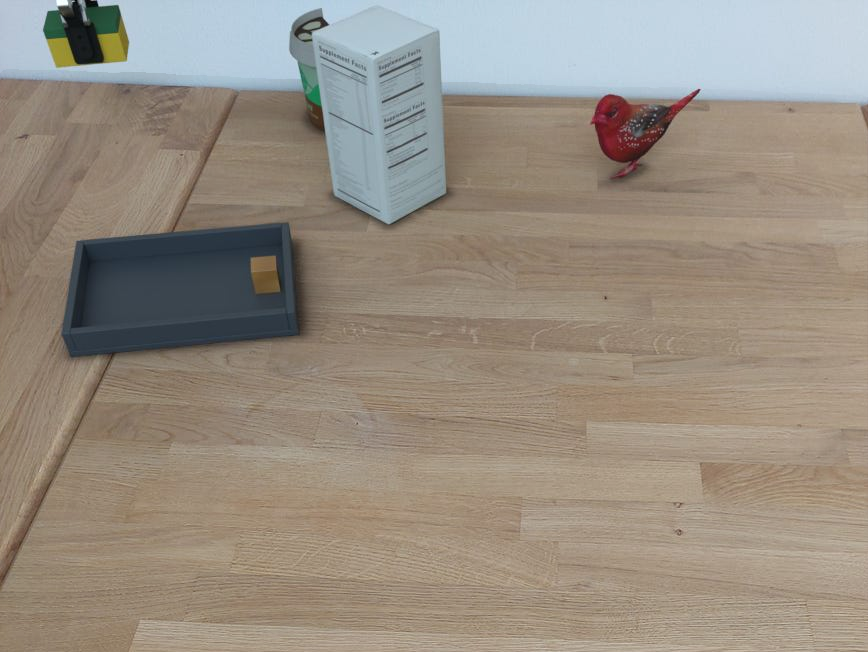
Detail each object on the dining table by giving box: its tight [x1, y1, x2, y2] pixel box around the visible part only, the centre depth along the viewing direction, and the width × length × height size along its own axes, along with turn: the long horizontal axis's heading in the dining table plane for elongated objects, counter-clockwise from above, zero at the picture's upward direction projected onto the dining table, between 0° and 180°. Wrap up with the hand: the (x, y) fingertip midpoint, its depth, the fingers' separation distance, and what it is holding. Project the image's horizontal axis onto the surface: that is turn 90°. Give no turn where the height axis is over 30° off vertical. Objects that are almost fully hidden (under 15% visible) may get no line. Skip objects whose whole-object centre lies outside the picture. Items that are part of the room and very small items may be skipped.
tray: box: [60, 221, 300, 358], centre depth 96 cm, size 22×16×3 cm
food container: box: [288, 7, 330, 133], centre depth 114 cm, size 12×6×10 cm, turn 27°
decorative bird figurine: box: [589, 88, 701, 180], centre depth 107 cm, size 3×18×10 cm, turn 130°
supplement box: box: [312, 4, 447, 225], centre depth 101 cm, size 10×9×17 cm
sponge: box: [42, 4, 130, 69], centre depth 110 cm, size 8×5×4 cm, turn 99°
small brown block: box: [251, 256, 281, 294], centre depth 96 cm, size 2×2×2 cm
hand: (91, 49), depth 112 cm, fingers closed on sponge, 5 cm apart
